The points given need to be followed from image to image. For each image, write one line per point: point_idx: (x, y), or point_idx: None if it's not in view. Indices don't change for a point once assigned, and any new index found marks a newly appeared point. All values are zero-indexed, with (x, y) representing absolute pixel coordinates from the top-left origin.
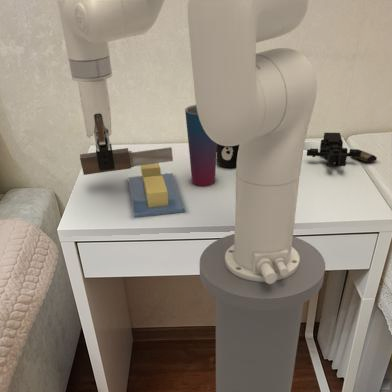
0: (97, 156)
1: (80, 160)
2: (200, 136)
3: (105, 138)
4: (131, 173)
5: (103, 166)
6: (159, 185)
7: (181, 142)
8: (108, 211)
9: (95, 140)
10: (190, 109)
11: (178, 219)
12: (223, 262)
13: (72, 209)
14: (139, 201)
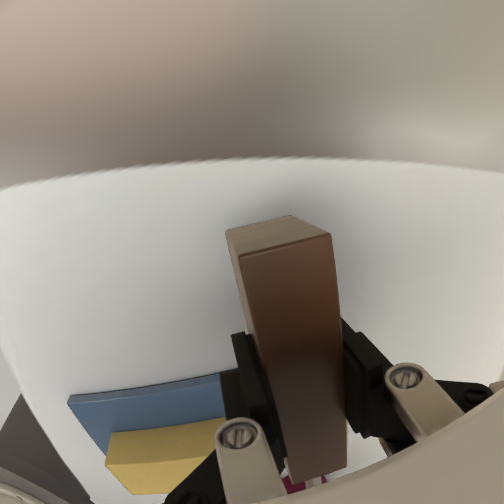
0: (243, 385)
1: (236, 251)
2: None
3: (396, 437)
4: (395, 331)
5: (220, 374)
6: (166, 485)
7: (501, 379)
8: (85, 321)
9: (227, 497)
10: None
11: (94, 466)
12: (4, 482)
13: (84, 179)
14: (144, 412)
